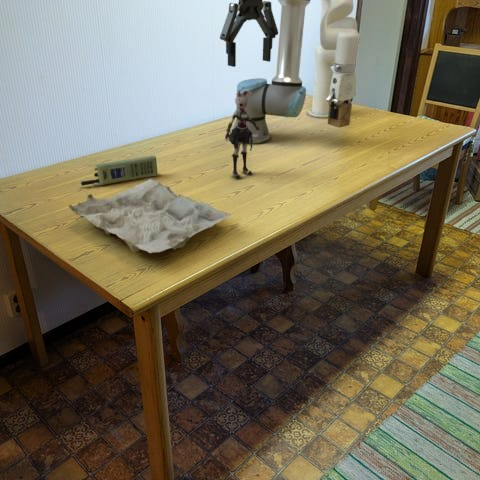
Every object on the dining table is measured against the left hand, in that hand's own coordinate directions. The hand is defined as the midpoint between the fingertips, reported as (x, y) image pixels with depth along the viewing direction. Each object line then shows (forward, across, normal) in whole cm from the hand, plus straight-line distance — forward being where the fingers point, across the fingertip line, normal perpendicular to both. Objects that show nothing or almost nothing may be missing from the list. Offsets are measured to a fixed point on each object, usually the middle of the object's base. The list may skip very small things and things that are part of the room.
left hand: (249, 63), depth 150 cm
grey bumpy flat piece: (+37, -42, -8) cm, 57 cm away
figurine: (+37, +1, +5) cm, 38 cm away
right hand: (+26, +51, +5) cm, 57 cm away
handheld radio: (+37, -33, +25) cm, 56 cm away
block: (+29, +51, +5) cm, 59 cm away
